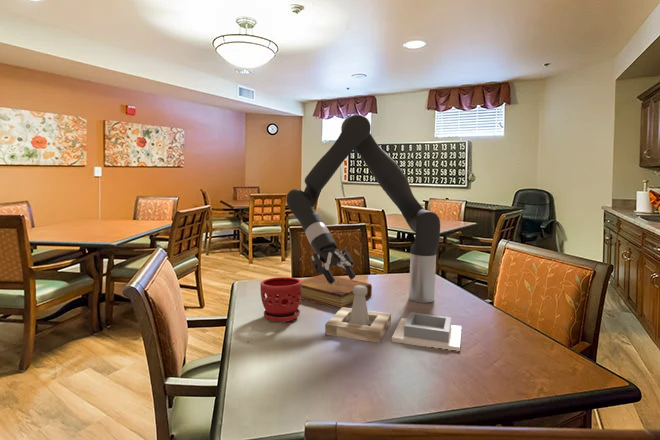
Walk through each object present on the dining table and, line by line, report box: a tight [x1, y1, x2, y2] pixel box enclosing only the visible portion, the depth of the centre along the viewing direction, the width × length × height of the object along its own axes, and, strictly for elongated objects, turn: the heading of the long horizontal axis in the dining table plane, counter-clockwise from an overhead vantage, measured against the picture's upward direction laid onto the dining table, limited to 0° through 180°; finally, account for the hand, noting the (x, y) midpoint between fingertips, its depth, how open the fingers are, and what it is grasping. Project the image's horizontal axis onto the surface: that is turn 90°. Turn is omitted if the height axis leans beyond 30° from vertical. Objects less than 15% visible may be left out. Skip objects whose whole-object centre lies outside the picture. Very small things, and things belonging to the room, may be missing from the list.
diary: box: [301, 273, 373, 310], centre depth 153 cm, size 23×19×6 cm
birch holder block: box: [324, 307, 392, 343], centre depth 121 cm, size 16×16×3 cm
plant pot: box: [260, 276, 302, 323], centre depth 130 cm, size 13×13×12 cm
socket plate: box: [391, 311, 463, 352], centre depth 117 cm, size 16×18×4 cm
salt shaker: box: [349, 285, 370, 326], centre depth 121 cm, size 6×6×13 cm
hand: (343, 280), depth 126 cm, fingers open, 8 cm apart
